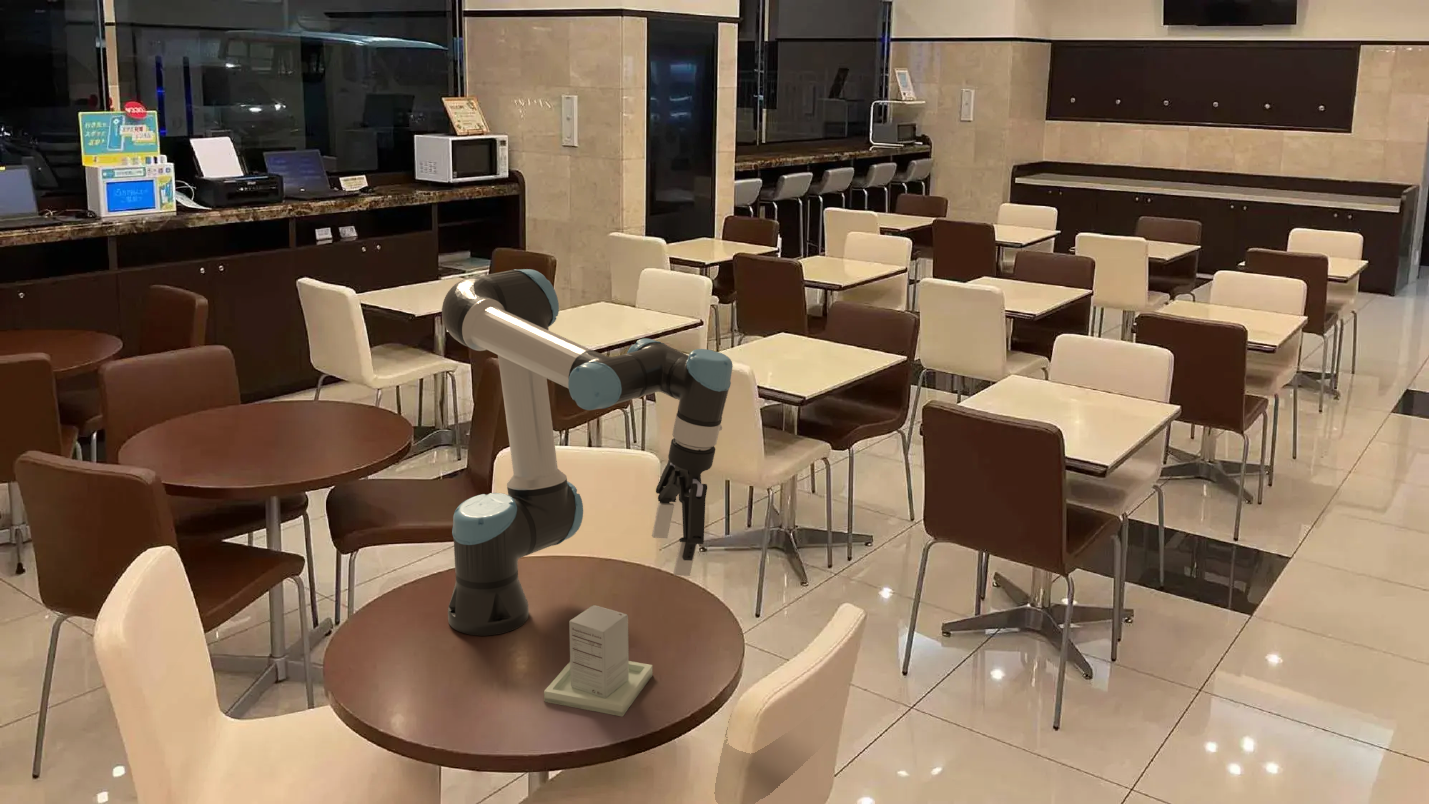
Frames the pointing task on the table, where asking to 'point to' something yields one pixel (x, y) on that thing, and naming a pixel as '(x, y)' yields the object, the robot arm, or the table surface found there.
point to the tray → (612, 704)
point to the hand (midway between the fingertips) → (670, 555)
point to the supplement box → (599, 651)
